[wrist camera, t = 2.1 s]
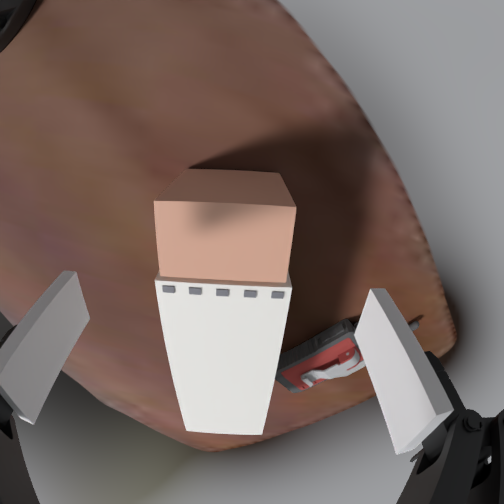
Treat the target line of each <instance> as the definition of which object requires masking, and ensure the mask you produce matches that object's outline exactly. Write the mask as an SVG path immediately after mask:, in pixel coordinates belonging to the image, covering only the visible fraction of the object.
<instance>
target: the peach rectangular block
mask: <svg viewBox="0 0 504 504" xmlns="http://www.w3.org/2000/svg"><path fill="white" fill-rule="evenodd" d="M296 208H297V207H296V205H295V203H294V201H293V199H292V197H291V195H290V193H289V191H288V189H287V187H286V185H285V183H284V181H283V179H282V177H281V175H280V173H273V172H258V171H241V170H217V169H185V170H184V171H183V172H182V173H181V174H180V175H179V176H178V177H177V178H176V179H175V180H174V181H173V182H172V183H171V184H170V185H169V186H168V187H167V188H166V189H165V190H164V191H163V192H162V193H161V194H160V195H159V196H158V197H157V198H156V199H155V200H154V212H155V226H156V238H157V249H158V259H159V268H160V276H166V277H181V278H197V279H215V280H234V281H256V282H280V283H286V279H287V273H288V266H289V259H290V252H291V245H292V238H293V231H294V223H295V216H296Z"/></svg>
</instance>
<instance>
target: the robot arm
mask: <svg viewBox="0 0 504 504" xmlns="http://www.w3.org/2000/svg"><path fill="white" fill-rule="evenodd" d="M35 1H36V0H0V52H1V51H2V50H3V49H4V48H5V47H6V46H7V44H8V43H9V42H10V41H11V40H12V38H13V37H14V36H15V34H16V33H17V32H18V30H19V29H20V27H21V26H22V24H23V23H24V21H25V20H26V18H27V16H28V15H29V13H30V11H31V9H32V7H33V5H34V3H35ZM89 320H90V317H89V314H88V311H87V308H86V304H85V301H84V298H83V295H82V291H81V288H80V284H79V280H78V277H77V273H76V272H73V271H63V272H62V273H61V274H60V275H59V276H58V277H57V279H56V280H55V281H54V282H53V283H52V284H51V285H50V286H49V288H48V289H47V290H46V291H45V292H44V293H43V294H42V296H41V297H40V298H39V299H38V300H37V302H36V303H35V304H34V305H33V306H32V308H31V309H30V310H29V311H28V313H27V314H26V315H25V316H24V318H23V319H22V320H21V321H20V323H19V324H18V325H15V326H14V327H13V328H11V329H10V330H9V331H8V332H7V333H6V334H5V336H4V337H3V338H2V340H1V342H0V504H40V503H39V501H38V498H37V496H36V493H35V491H34V488H33V485H32V482H31V479H30V477H29V474H28V470H27V467H26V464H25V461H24V457H23V454H22V450H21V446H20V442H19V438H18V434H17V430H16V425H15V420H14V418H13V416H12V415H11V414H12V412H13V410H14V411H15V413H16V414H17V415H18V416H19V417H20V418H21V419H23V420H25V421H27V422H29V423H31V424H33V425H34V424H35V421H36V419H37V417H38V415H39V412H40V410H41V408H42V406H43V404H44V402H45V400H46V398H47V395H48V393H49V391H50V389H51V387H52V385H53V384H54V381H55V380H56V378H57V376H58V374H59V372H60V370H61V368H62V366H63V364H64V363H65V361H66V359H67V357H68V355H69V354H70V352H71V350H72V348H73V347H74V345H75V343H76V341H77V340H78V338H79V336H80V334H81V333H82V331H83V329H84V328H85V326H86V324H87V323H88V321H89ZM354 336H355V339H356V341H357V344H358V346H359V349H360V351H361V354H362V356H363V359H364V362H365V364H366V367H367V370H368V372H369V375H370V378H371V380H372V383H373V386H374V389H375V391H376V394H377V397H378V400H379V403H380V406H381V409H382V412H383V414H384V417H385V420H386V423H387V427H388V430H389V433H390V436H391V439H392V442H393V445H394V449H395V452H396V454H400V453H404V452H407V451H411V450H413V449H414V448H416V447H417V446H418V445H419V444H420V443H421V442H422V445H423V449H422V450H421V451H419V452H418V453H417V454H416V455H415V456H413V458H412V459H411V460H410V462H413V461H414V460H415V459H417V461H416V463H415V466H414V468H413V470H412V473H411V475H410V477H409V479H408V481H407V483H406V486H405V487H404V490H403V492H402V494H401V496H400V497H399V499H398V501H397V503H396V504H504V409H503V410H502V411H501V412H500V413H499V414H498V415H497V416H496V417H490V418H482V417H481V416H480V415H479V413H477V412H476V411H474V410H470V409H467V410H466V408H465V407H464V405H463V403H462V401H461V399H460V397H459V395H458V393H457V391H456V389H455V388H454V386H453V384H452V382H451V380H450V379H449V376H448V375H447V373H446V372H445V371H444V367H443V366H442V364H441V362H440V360H439V359H438V358H437V357H436V356H435V355H434V354H433V353H432V352H430V351H427V352H424V351H423V349H422V348H421V346H420V344H419V343H418V341H417V339H416V337H415V336H414V334H413V332H412V331H411V329H410V327H409V326H408V324H407V322H406V321H405V319H404V318H403V316H402V314H401V313H400V311H399V310H398V308H397V306H396V305H395V303H394V302H393V300H392V299H391V297H390V295H389V294H388V292H387V291H386V289H372V288H370V291H369V294H368V297H367V300H366V303H365V306H364V309H363V312H362V315H361V317H360V320H359V323H358V326H357V328H356V331H355V334H354ZM490 456H491V457H492V458H491V463H489V464H488V461H487V459H488V458H489V457H490Z"/></svg>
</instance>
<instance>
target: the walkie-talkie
mask: <svg viewBox="0 0 504 504" xmlns="http://www.w3.org/2000/svg"><path fill="white" fill-rule="evenodd" d="M357 326H358V323H357V322H356V323H355V324H354V326H353V325H352V324H351V322H350V321H349V320H348V319H344V320H342V321H340V322H338V323H337V324H335V325H333V326H332V327H330V328H328V329H326V330H325V331H323V332H321V333H319V334H318V335H316V336H314V337H313V338H312V339H311V338H310V340H308V341H306V342H304V343H302V344H301V345H298V346H297V347H295V348H293V349H291V350H288V351H287V352H284V353H283V354H280V355H279V360H278V365H277V370H276V375H275V379H276V380H277V381H278V382H279V383H281V384H282V385H283V386H285V387H286V388H287V389H288V390H289V391H291V392H293V393H297V392H302V391H304V390H306V389H309V388H310V387H313V386H315V385H317V384H319V383H321V382H323V381H325V380H327V379H333V378H334V377H343V376H348V375H349V374H351V373H353V372H355V371H357V370H359V369H361V368H363V367H364V366H366V364H365V362H364V359H363V356H362V354H361V351H360V349H359V346H358V344H357V341H356V339H355V336H354V334H355V331H356V328H357ZM408 326H409V327H410V329H411V331H414V330H415V329H417V328H418V327H419V322H418V321H414V322H413V323H411V324H410V325H408Z"/></svg>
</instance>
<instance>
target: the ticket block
mask: <svg viewBox="0 0 504 504" xmlns="http://www.w3.org/2000/svg"><path fill="white" fill-rule="evenodd" d="M155 285H156V292H157V299H158V305H159V311H160V317H161V323H162V329H163V334H164V339H165V344H166V349H167V354H168V359H169V364H170V368H171V373H172V377H173V381H174V386H175V390H176V394H177V398H178V402H179V405H180V409H181V413H182V417H183V420H184V424H185V427H186V431H195V432H206V433H220V434H244V435H262V432H263V428H264V424H265V420H266V415H267V411H268V407H269V402H270V398H271V393H272V389H273V384H274V379H275V375H276V370H277V365H278V360H279V355H280V351H281V345H282V340H283V335H284V330H285V325H286V319H287V314H288V309H289V303H290V297H291V292H292V285H291V280H290V276H289V272H288V273H287V279H286V283H280V282H256V281H234V280H215V279H197V278H181V277H166V276H160V271H159V273H158V275H157V277H156V279H155Z"/></svg>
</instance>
